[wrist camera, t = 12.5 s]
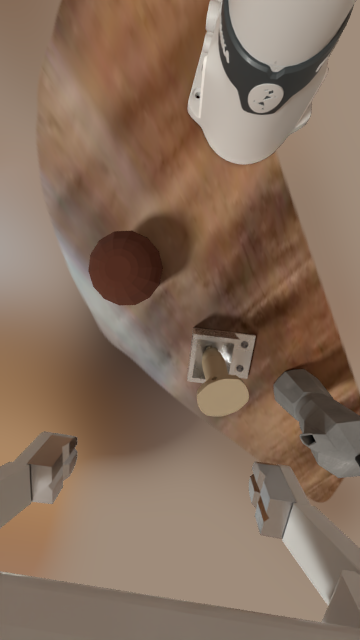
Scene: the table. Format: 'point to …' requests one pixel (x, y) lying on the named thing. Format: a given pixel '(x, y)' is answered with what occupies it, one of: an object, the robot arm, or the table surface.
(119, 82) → the table surface
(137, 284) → the muffin
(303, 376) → the coffeepot
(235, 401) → the handle
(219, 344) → the flanged open box
